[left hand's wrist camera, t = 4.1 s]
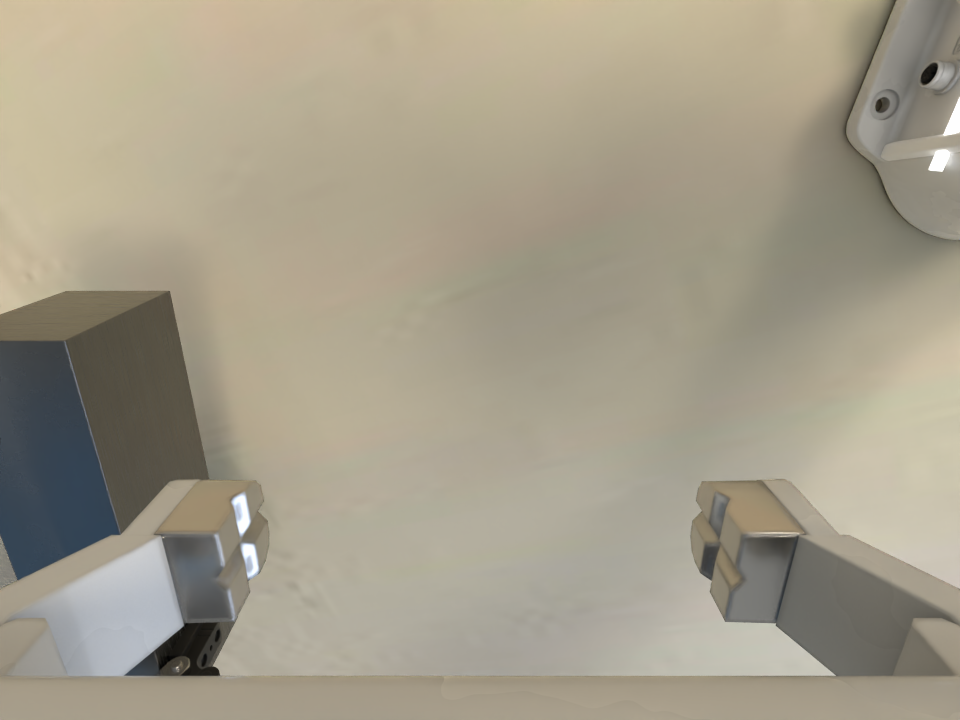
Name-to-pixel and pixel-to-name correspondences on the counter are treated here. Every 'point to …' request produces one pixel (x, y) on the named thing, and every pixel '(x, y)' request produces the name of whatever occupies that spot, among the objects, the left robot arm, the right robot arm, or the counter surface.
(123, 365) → the bar
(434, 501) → the counter surface
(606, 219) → the counter surface
